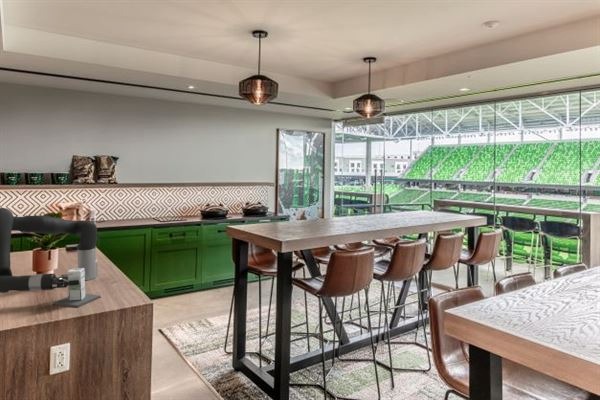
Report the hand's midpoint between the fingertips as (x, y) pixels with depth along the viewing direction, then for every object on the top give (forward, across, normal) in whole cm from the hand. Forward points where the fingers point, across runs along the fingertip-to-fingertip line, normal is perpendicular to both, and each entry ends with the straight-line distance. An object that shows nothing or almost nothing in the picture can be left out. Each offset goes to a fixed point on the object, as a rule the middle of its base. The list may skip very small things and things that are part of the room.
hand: (81, 279), depth 185 cm
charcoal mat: (-2, 0, +10) cm, 10 cm away
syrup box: (-2, 0, +9) cm, 10 cm away
